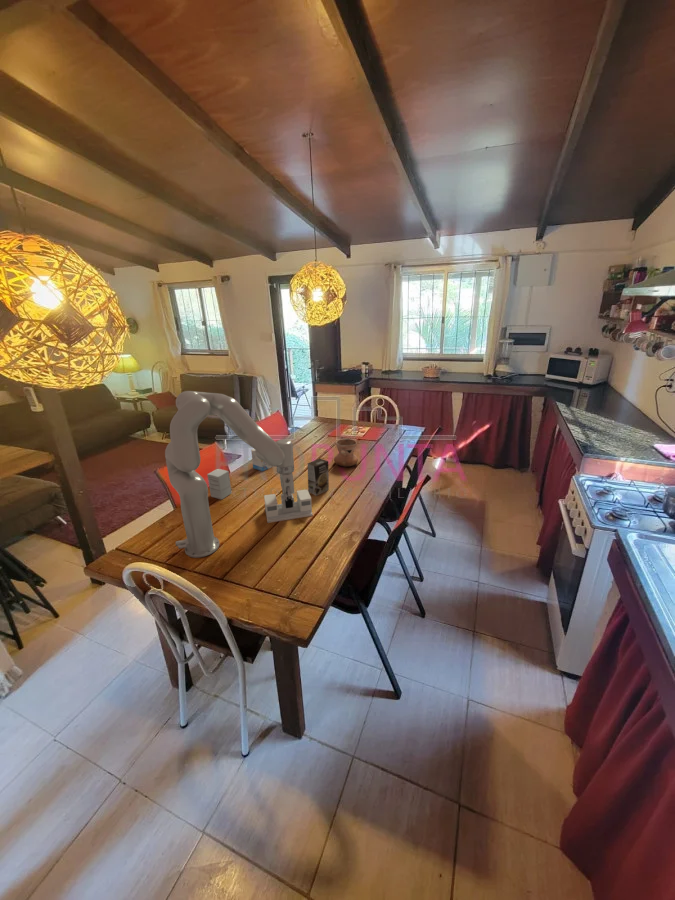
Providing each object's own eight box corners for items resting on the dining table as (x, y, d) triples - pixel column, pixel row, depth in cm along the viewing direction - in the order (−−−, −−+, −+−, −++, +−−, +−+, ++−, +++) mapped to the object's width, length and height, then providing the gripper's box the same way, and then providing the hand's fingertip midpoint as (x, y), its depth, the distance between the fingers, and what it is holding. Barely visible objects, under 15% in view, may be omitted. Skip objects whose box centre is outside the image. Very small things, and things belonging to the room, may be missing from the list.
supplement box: (221, 490, 178) (217, 468, 173) (232, 493, 175) (229, 470, 170) (210, 496, 172) (206, 473, 167) (221, 499, 169) (218, 476, 164)
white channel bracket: (267, 522, 150) (266, 506, 147) (265, 508, 160) (263, 493, 158) (312, 515, 155) (312, 500, 152) (307, 502, 166) (306, 487, 163)
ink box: (262, 471, 199) (260, 450, 194) (252, 468, 203) (250, 447, 198) (273, 466, 205) (271, 445, 200) (263, 463, 210) (261, 442, 205)
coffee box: (316, 496, 171) (315, 466, 165) (307, 492, 175) (306, 463, 170) (329, 489, 178) (328, 461, 172) (320, 485, 182) (319, 457, 176)
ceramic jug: (354, 470, 199) (355, 447, 194) (330, 468, 202) (330, 445, 197) (360, 459, 215) (361, 438, 210) (338, 457, 218) (338, 435, 213)
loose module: (294, 511, 156) (294, 497, 153) (283, 513, 154) (282, 499, 152) (293, 505, 160) (292, 492, 157) (281, 507, 159) (280, 494, 156)
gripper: (297, 474, 143) (299, 510, 149) (290, 459, 158) (292, 492, 164) (279, 477, 141) (282, 513, 147) (274, 461, 156) (277, 494, 162)
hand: (287, 502), depth 156 cm, fingers open, 9 cm apart
